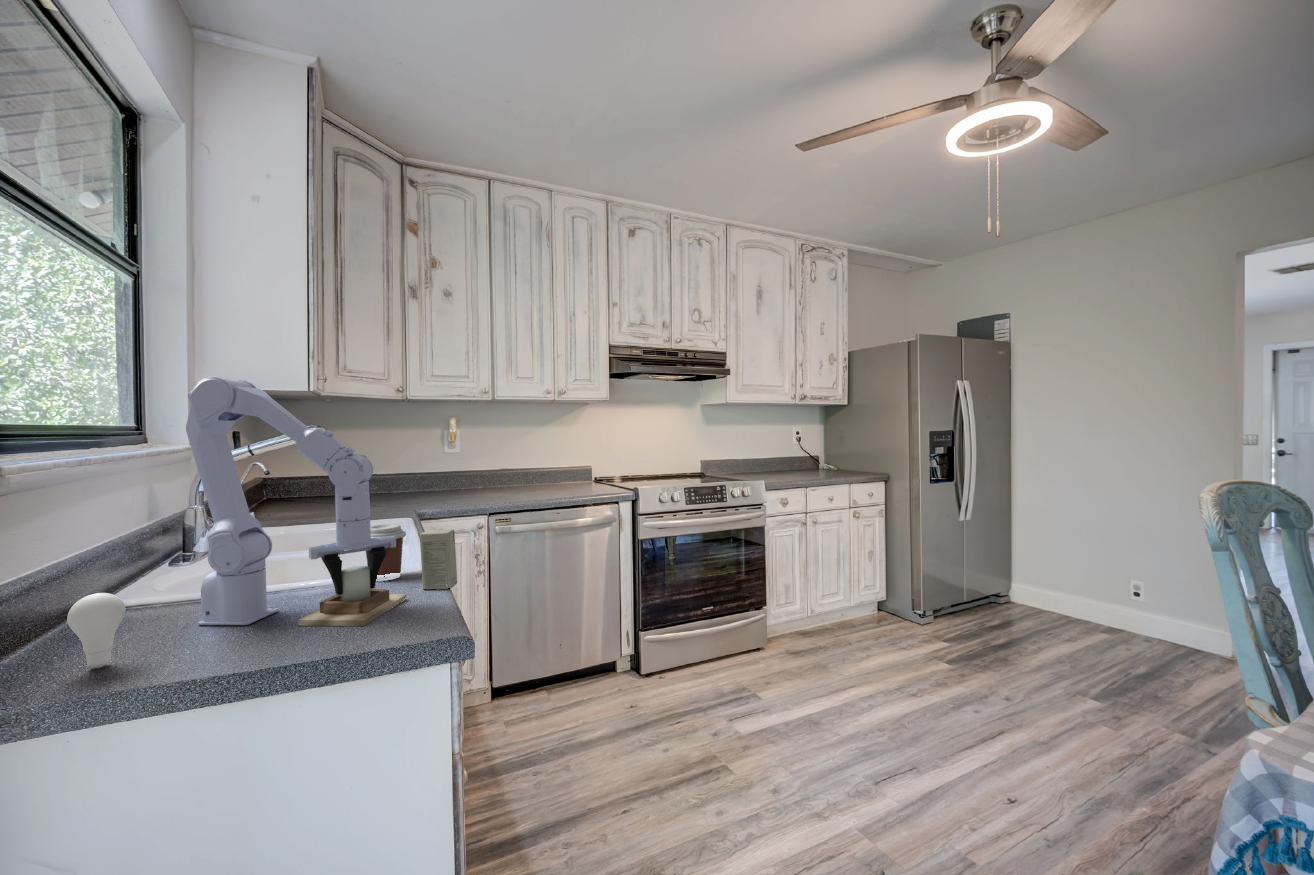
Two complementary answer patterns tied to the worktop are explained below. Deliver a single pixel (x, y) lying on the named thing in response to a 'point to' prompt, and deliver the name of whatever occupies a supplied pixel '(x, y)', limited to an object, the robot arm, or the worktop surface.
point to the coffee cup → (392, 554)
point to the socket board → (352, 610)
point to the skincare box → (438, 559)
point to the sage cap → (355, 583)
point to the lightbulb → (96, 625)
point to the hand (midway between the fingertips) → (355, 590)
